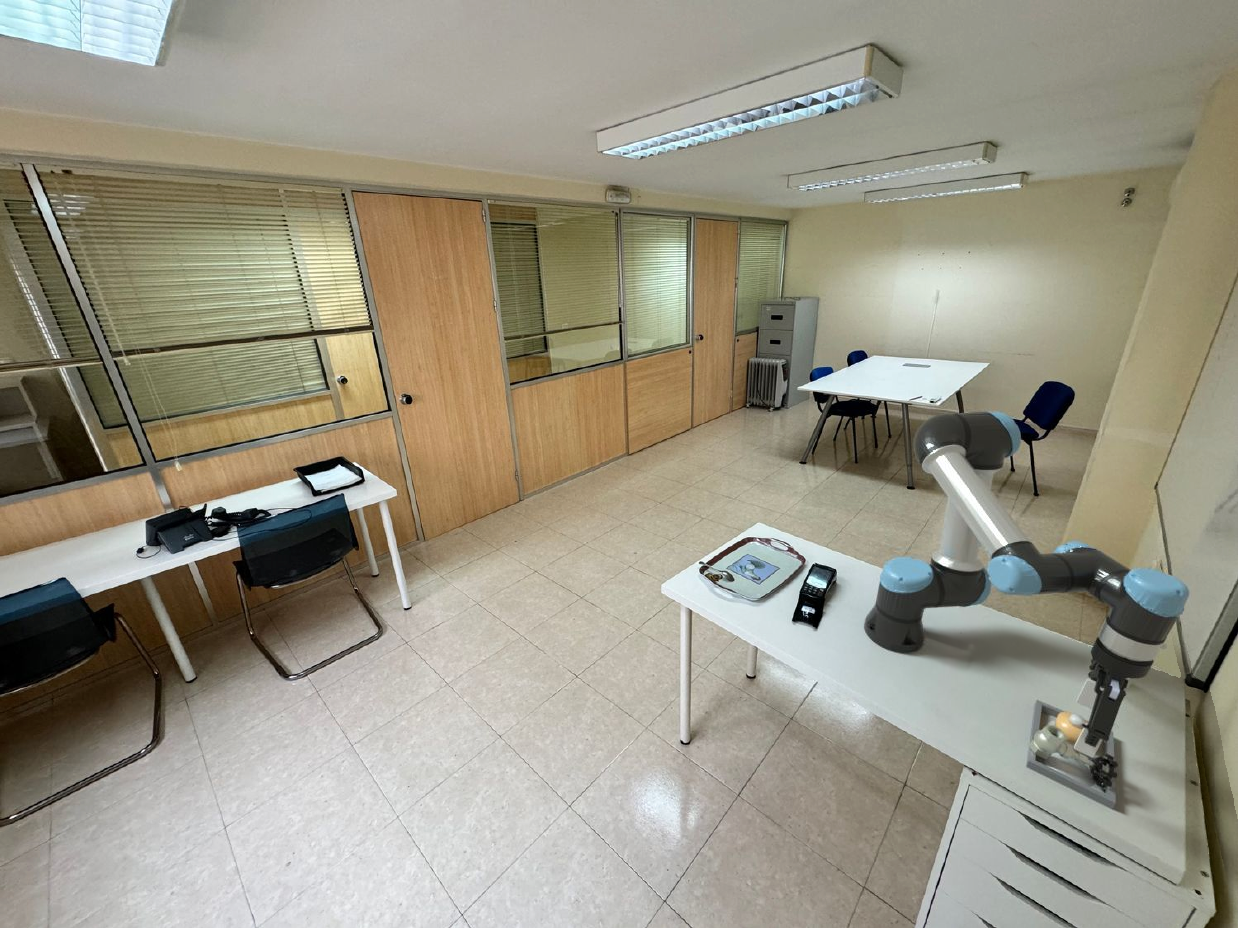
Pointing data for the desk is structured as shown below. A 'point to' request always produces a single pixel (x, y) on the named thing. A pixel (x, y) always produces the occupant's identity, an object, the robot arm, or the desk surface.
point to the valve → (1072, 754)
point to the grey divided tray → (1070, 763)
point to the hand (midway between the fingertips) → (1084, 727)
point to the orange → (1070, 725)
